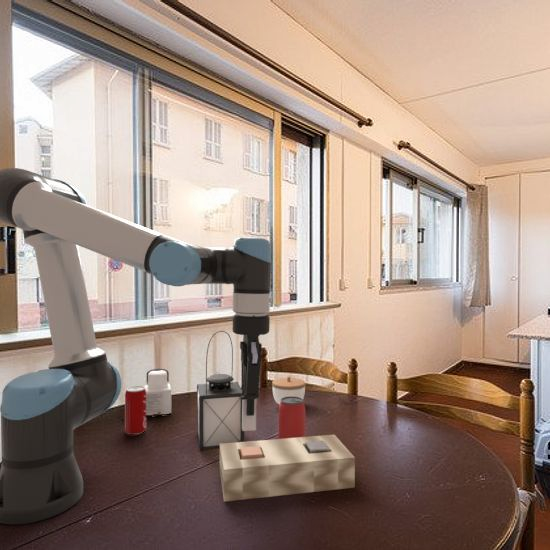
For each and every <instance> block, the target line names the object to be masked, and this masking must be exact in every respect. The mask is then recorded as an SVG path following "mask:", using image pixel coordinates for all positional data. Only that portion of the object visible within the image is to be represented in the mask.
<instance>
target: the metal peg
mask: <svg viewBox="0 0 550 550" xmlns="http://www.w3.org/2000/svg"><path fill="white" fill-rule="evenodd" d="M305 448H306V450H307V452H308V453H309V454H310V453H321V452H329V447H328V446H327V445H326V444H325V442H324V441H312V442H305Z"/></svg>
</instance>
